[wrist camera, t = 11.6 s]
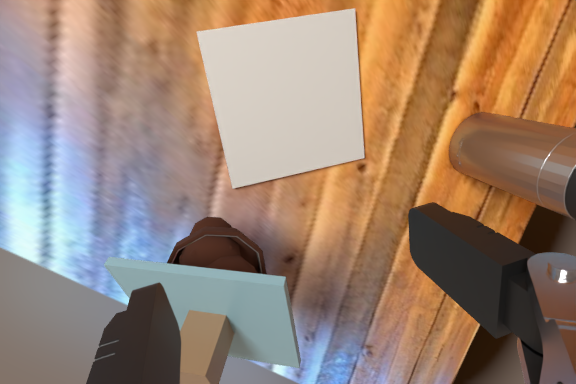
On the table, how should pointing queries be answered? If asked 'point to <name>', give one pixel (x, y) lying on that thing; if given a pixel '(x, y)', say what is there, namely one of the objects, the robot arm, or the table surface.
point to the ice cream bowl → (218, 248)
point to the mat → (285, 94)
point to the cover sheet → (219, 314)
